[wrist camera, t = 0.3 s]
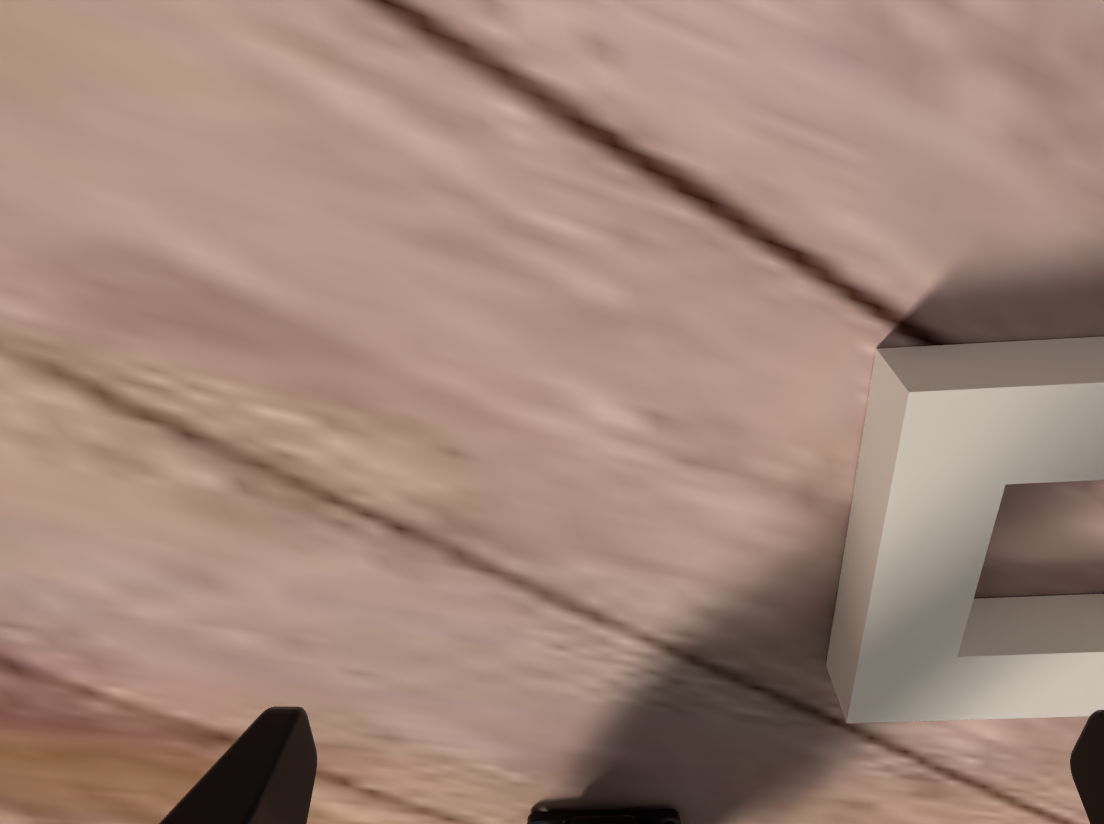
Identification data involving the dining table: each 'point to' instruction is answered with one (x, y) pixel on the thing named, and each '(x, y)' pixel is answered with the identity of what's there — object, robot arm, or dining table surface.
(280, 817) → the robot arm
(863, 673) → the hole plate
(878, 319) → the dining table surface
